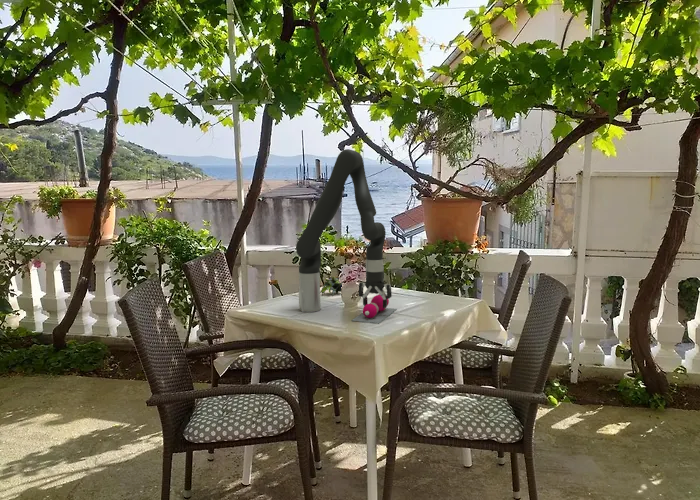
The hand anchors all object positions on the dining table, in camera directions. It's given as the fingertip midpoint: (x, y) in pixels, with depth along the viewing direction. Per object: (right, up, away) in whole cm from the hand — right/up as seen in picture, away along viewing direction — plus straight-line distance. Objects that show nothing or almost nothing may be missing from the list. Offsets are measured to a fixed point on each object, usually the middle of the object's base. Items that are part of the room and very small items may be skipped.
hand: (375, 307), depth 219 cm
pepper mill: (+4, +2, +9) cm, 10 cm away
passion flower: (-19, +1, +42) cm, 46 cm away
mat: (0, -3, 0) cm, 4 cm away
